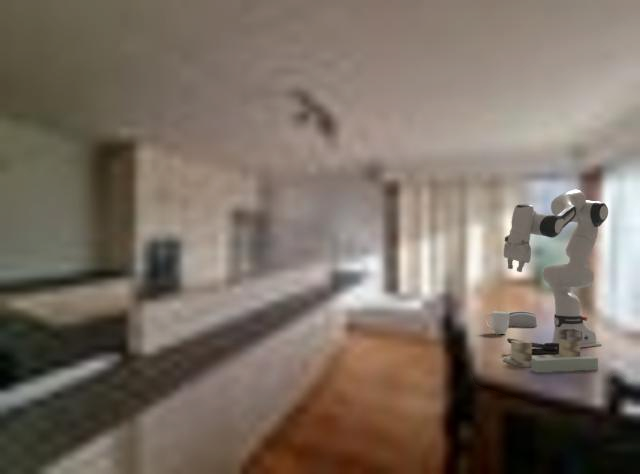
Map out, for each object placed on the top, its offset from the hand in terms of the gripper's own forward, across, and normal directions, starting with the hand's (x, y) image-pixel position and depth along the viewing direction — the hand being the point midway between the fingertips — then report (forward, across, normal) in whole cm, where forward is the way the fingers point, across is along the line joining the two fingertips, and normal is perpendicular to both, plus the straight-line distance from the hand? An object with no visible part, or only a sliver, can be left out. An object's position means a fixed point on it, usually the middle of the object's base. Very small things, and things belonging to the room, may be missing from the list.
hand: (514, 270), depth 257 cm
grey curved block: (+38, +68, -41) cm, 88 cm away
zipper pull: (+36, -5, -14) cm, 39 cm away
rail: (+35, -33, -12) cm, 49 cm away
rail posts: (+35, -19, -11) cm, 42 cm away
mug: (+39, +45, -17) cm, 62 cm away
